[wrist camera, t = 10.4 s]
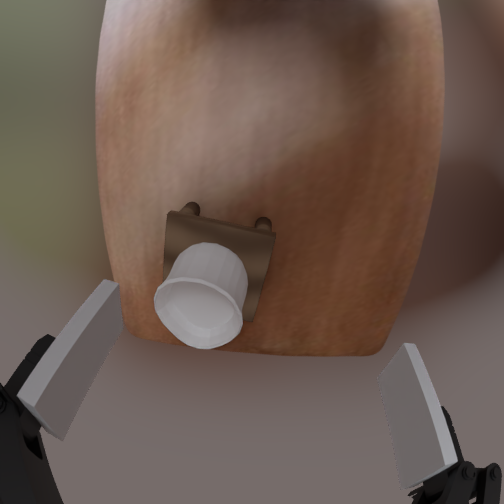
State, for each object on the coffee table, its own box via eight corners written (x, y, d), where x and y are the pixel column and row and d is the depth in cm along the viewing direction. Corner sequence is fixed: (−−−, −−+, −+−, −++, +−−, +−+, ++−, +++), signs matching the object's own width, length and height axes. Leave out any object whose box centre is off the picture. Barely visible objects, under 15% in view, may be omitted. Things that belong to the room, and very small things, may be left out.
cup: (233, 311, 40) (223, 360, 31) (169, 283, 39) (145, 327, 30) (261, 259, 36) (257, 305, 27) (189, 227, 35) (163, 264, 26)
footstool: (184, 198, 41) (167, 214, 34) (275, 217, 41) (275, 237, 34) (176, 275, 47) (162, 300, 40) (255, 293, 47) (252, 322, 41)
